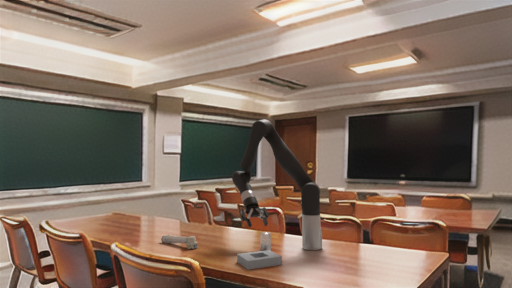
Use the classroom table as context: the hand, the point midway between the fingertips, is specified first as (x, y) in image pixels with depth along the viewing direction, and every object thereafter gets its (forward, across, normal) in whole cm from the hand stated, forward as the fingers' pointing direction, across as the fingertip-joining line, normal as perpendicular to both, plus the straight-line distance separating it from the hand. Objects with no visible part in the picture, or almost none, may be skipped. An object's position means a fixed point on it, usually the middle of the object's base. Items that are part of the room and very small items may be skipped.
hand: (258, 225), depth 178 cm
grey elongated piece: (-10, -34, +28) cm, 45 cm away
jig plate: (+23, -9, -6) cm, 25 cm away
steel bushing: (+14, 0, +3) cm, 15 cm away
